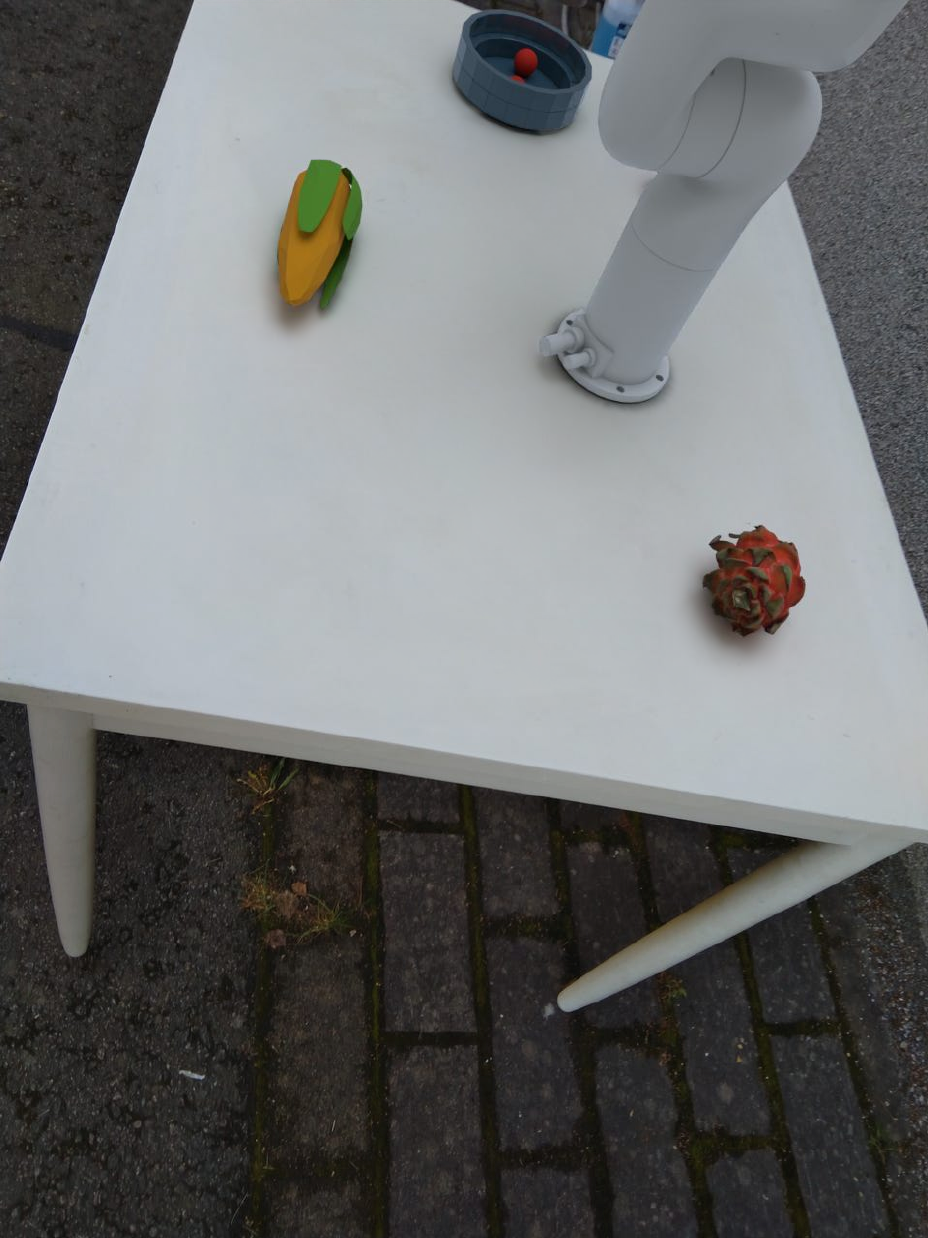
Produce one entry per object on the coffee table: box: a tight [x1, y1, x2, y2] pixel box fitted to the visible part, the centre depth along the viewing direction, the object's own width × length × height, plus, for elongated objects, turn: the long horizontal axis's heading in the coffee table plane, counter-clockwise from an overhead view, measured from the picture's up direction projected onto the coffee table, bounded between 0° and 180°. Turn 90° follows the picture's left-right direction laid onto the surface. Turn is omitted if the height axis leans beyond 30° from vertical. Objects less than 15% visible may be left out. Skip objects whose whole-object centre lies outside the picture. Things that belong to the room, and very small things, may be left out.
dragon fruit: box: [701, 523, 807, 638], centre depth 80 cm, size 8×8×12 cm
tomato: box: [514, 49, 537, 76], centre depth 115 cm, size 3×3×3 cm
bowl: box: [451, 9, 593, 131], centre depth 113 cm, size 17×17×6 cm
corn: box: [276, 159, 363, 308], centre depth 87 cm, size 7×8×20 cm
